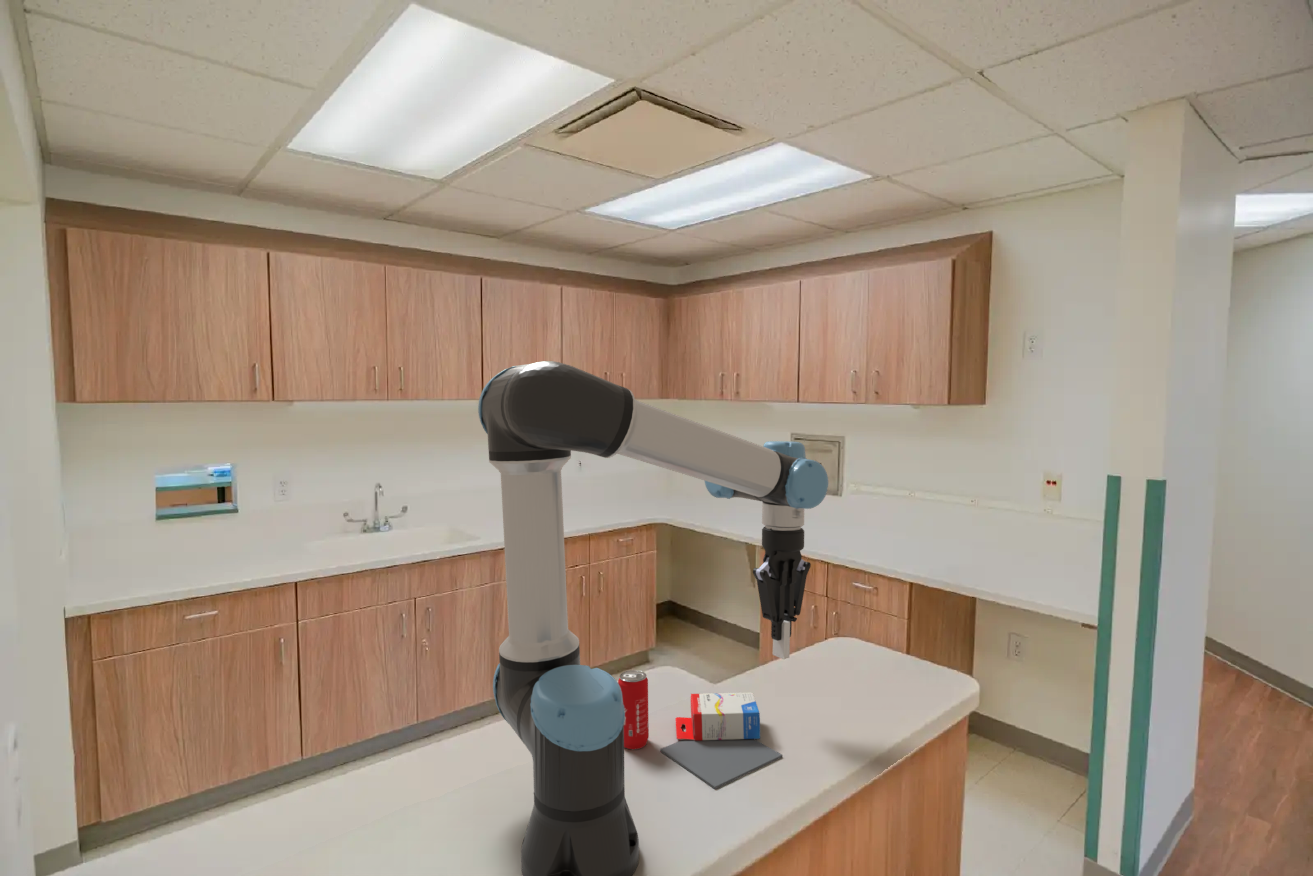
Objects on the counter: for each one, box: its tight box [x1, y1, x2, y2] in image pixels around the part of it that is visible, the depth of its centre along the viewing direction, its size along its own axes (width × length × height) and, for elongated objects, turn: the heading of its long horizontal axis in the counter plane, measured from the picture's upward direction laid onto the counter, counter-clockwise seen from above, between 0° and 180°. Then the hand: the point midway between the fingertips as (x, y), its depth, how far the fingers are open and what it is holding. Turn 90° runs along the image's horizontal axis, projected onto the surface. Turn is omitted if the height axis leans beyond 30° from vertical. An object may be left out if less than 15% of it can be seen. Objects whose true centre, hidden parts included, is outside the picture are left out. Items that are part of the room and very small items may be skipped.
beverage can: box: [617, 669, 650, 751], centre depth 113 cm, size 5×5×12 cm
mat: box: [659, 739, 783, 790], centre depth 109 cm, size 15×14×1 cm
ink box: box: [675, 692, 761, 741], centre depth 117 cm, size 8×5×15 cm
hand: (781, 656), depth 117 cm, fingers closed
